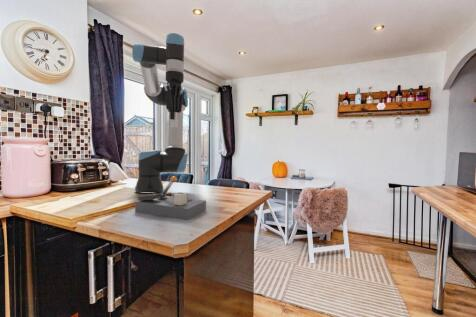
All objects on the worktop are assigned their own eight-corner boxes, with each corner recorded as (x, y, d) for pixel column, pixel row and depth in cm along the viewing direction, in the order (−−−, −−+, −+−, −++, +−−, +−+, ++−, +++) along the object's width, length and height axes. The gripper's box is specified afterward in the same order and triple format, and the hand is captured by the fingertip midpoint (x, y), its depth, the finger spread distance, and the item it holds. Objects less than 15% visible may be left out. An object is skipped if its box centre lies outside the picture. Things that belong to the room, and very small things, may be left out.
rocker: (147, 198, 99) (146, 194, 99) (160, 197, 97) (160, 192, 97) (138, 200, 95) (137, 196, 95) (152, 199, 92) (152, 195, 92)
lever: (161, 194, 102) (175, 174, 99) (165, 198, 101) (179, 178, 99) (157, 195, 100) (171, 175, 97) (161, 199, 99) (175, 179, 96)
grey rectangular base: (158, 203, 107) (158, 190, 107) (205, 210, 99) (206, 195, 99) (135, 211, 94) (135, 196, 94) (187, 219, 86) (187, 203, 86)
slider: (180, 202, 94) (180, 191, 94) (186, 203, 93) (186, 192, 93) (174, 204, 90) (174, 193, 90) (180, 205, 89) (180, 194, 89)
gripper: (176, 77, 110) (175, 128, 111) (157, 68, 98) (157, 126, 99) (190, 76, 107) (189, 128, 109) (172, 66, 95) (172, 126, 96)
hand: (173, 127), depth 104 cm, fingers closed
